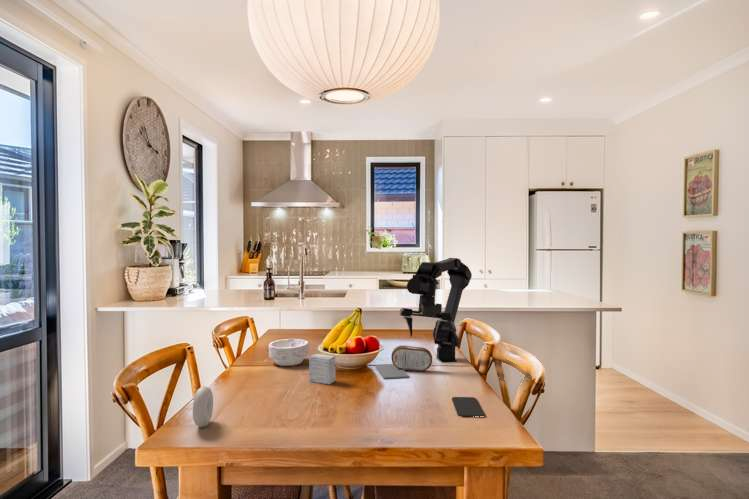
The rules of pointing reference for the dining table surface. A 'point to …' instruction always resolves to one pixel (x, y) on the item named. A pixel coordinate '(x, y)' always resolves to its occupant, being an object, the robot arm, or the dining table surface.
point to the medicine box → (322, 368)
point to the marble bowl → (288, 351)
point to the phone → (467, 406)
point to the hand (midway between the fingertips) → (423, 337)
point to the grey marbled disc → (203, 406)
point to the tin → (411, 358)
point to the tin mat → (391, 371)
